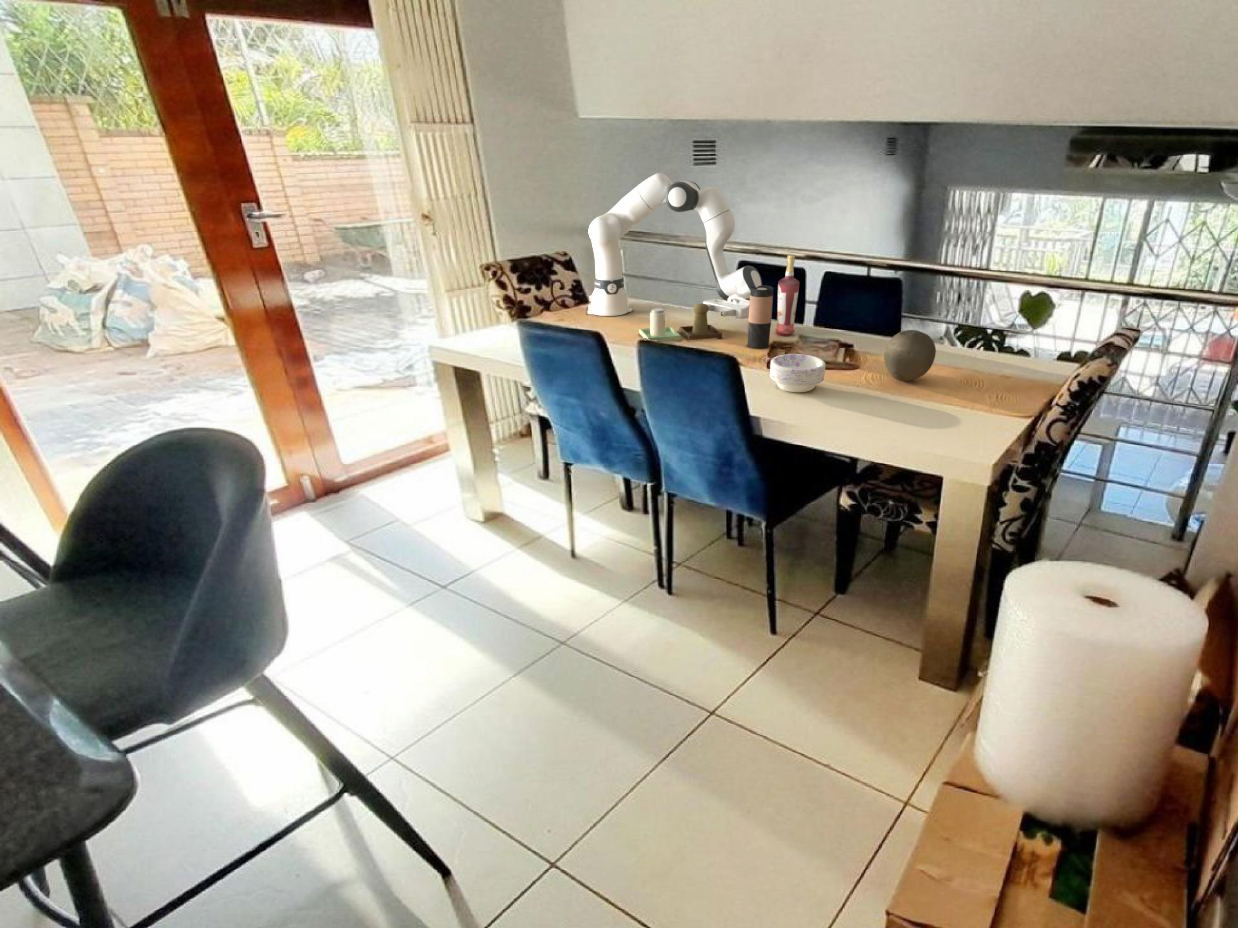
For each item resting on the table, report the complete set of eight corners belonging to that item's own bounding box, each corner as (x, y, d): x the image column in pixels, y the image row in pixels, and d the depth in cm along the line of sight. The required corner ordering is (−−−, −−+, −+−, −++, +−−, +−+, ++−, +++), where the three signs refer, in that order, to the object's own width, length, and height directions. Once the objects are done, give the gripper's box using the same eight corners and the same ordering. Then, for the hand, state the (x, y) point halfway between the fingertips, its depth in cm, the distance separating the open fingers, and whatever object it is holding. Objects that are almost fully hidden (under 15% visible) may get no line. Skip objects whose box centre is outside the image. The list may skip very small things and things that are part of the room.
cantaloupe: (872, 375, 212) (878, 326, 206) (917, 373, 213) (925, 324, 206) (891, 390, 199) (899, 338, 193) (940, 388, 200) (949, 336, 194)
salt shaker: (648, 335, 256) (648, 308, 252) (663, 334, 257) (663, 307, 253) (652, 339, 252) (652, 311, 247) (667, 338, 252) (667, 310, 248)
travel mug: (767, 349, 239) (772, 290, 230) (745, 348, 241) (748, 289, 233) (770, 343, 245) (775, 286, 237) (748, 342, 248) (752, 285, 239)
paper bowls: (798, 400, 193) (801, 372, 190) (757, 386, 205) (759, 360, 201) (834, 388, 201) (837, 362, 198) (793, 376, 213) (795, 350, 209)
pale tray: (639, 334, 261) (639, 329, 260) (671, 332, 263) (671, 326, 262) (647, 343, 249) (647, 338, 248) (680, 341, 251) (680, 335, 250)
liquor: (796, 336, 253) (804, 256, 241) (776, 337, 253) (782, 257, 241) (792, 331, 260) (799, 253, 248) (772, 332, 260) (778, 254, 248)
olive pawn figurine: (688, 333, 259) (689, 303, 254) (703, 331, 261) (704, 301, 256) (697, 336, 254) (698, 306, 249) (711, 334, 256) (712, 304, 251)
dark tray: (679, 332, 262) (679, 326, 261) (710, 329, 264) (710, 324, 263) (689, 341, 250) (689, 335, 250) (721, 338, 253) (722, 333, 252)
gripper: (717, 293, 272) (692, 299, 264) (759, 301, 257) (734, 307, 249) (716, 310, 274) (692, 315, 266) (758, 318, 260) (733, 325, 252)
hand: (712, 312), depth 258 cm, fingers open, 8 cm apart
